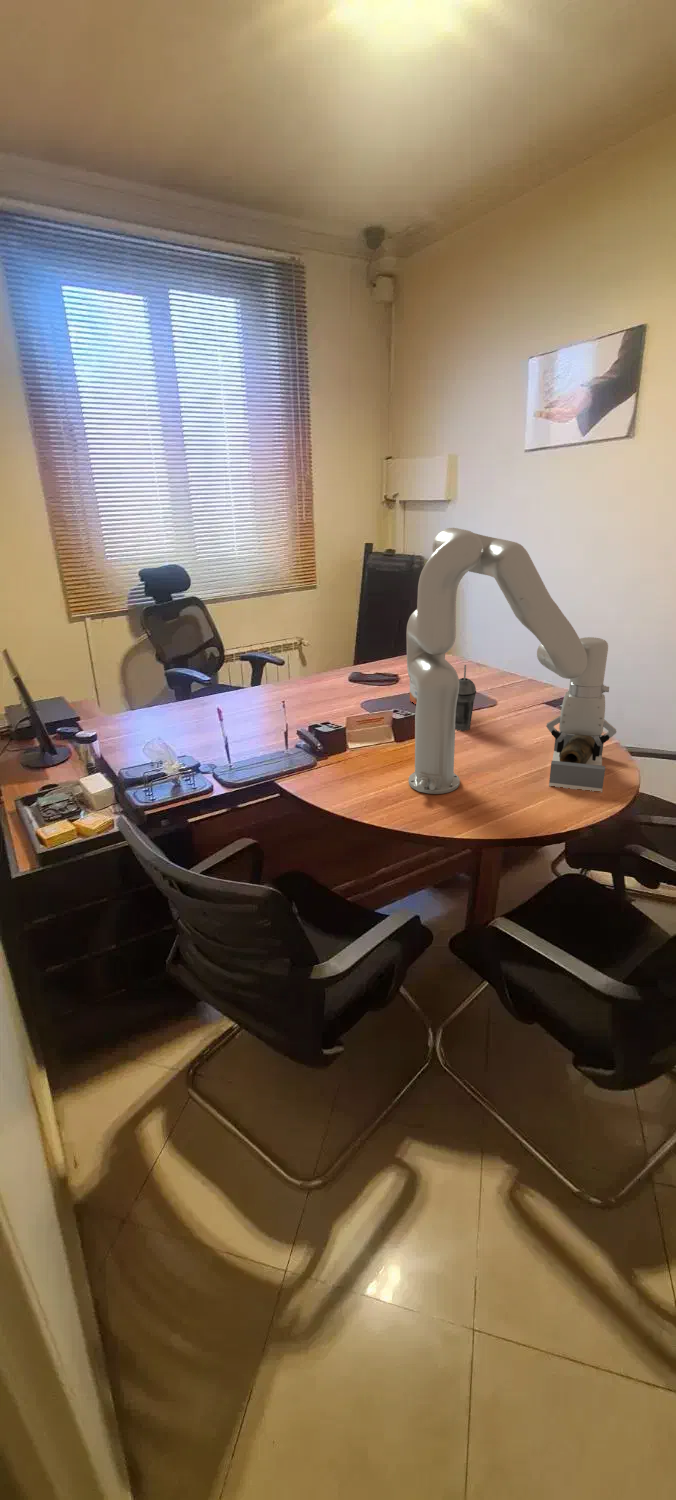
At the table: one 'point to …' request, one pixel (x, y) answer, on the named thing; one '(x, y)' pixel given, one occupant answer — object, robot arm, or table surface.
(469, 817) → the table surface
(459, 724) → the beverage cup
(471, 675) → the table surface
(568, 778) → the holder
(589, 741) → the brown piece
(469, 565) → the robot arm
